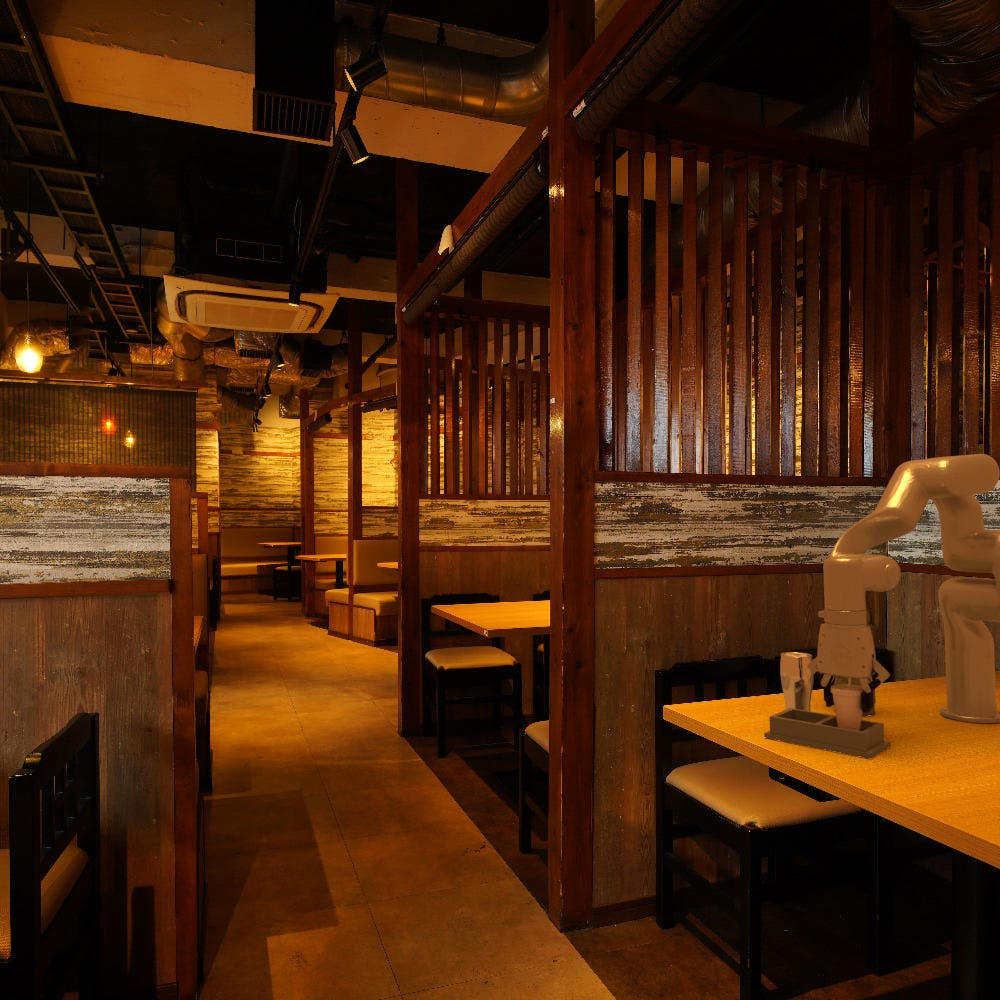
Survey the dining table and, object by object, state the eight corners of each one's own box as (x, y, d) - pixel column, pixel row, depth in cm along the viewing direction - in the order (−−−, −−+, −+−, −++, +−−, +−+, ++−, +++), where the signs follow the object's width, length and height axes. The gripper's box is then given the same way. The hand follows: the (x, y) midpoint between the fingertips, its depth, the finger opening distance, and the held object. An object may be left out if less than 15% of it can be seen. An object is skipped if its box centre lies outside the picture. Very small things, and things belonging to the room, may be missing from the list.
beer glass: (817, 726, 164) (815, 657, 165) (784, 724, 166) (782, 656, 166) (811, 718, 171) (809, 652, 172) (779, 717, 173) (777, 651, 173)
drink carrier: (787, 727, 164) (787, 706, 164) (890, 746, 149) (890, 723, 149) (764, 738, 156) (763, 716, 156) (870, 759, 141) (869, 735, 141)
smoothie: (852, 742, 145) (850, 670, 145) (824, 734, 151) (822, 664, 151) (874, 737, 148) (871, 666, 148) (846, 730, 154) (843, 661, 154)
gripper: (794, 617, 154) (797, 705, 153) (884, 623, 141) (888, 719, 141) (810, 613, 159) (812, 698, 158) (898, 619, 147) (901, 712, 146)
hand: (848, 707), depth 149 cm, fingers closed on smoothie, 6 cm apart
